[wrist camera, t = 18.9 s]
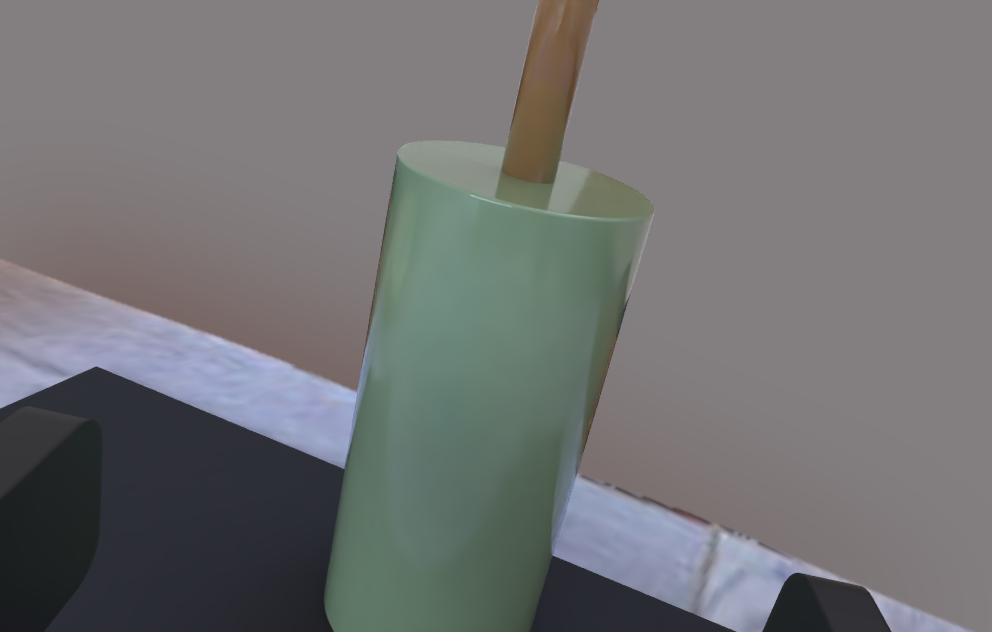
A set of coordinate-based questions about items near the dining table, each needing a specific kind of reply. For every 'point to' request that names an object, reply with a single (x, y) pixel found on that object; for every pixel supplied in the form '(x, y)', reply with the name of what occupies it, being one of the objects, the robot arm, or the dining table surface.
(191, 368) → the dining table surface
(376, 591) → the spatula crock
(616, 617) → the mat
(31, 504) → the robot arm
